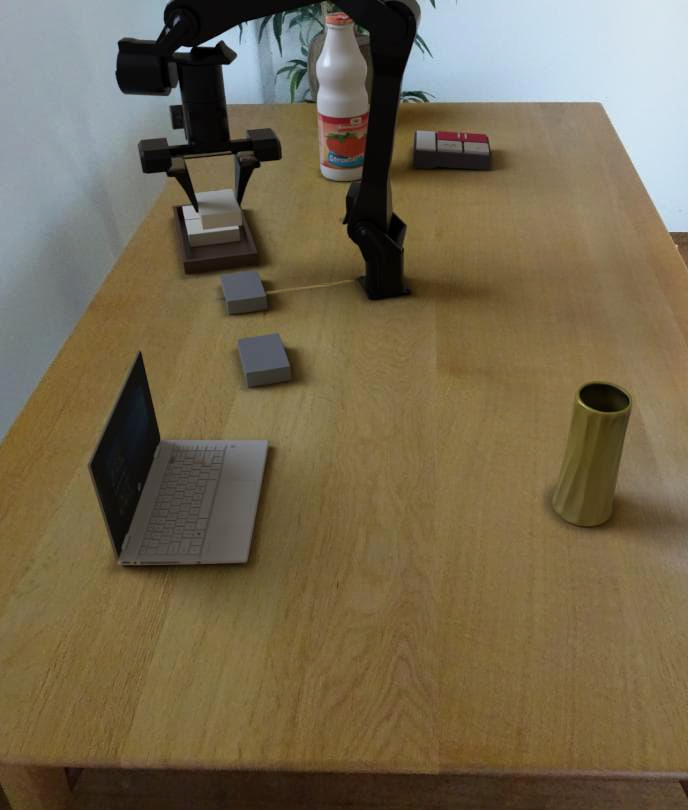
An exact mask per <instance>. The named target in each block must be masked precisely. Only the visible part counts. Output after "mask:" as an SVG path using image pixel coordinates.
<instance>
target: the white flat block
mask: <svg viewBox="0 0 688 810" xmlns="http://www.w3.org/2000/svg"><path fill="white" fill-rule="evenodd" d="M195 195H196V199H197V202H198V210H199V213H198V215H199V218H200V222H201V225H202V228H203V230H206V229H215V228H223V227H231V226H239V225H242V217H241V210H240V208H239V205H238V203H237V201H236V198H235V192H234V191H233V189H232V188H228V189H217V190H210V191H200V192H195Z"/></svg>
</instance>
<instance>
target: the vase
mask: <svg viewBox="0 0 688 810" xmlns="http://www.w3.org/2000/svg"><path fill="white" fill-rule="evenodd" d="M572 405H573V406H572V411H571V417H570V424H569V428H568V434H567V439H566V446H565V450H564V454H563V459H562V462H561V467H560V470H559V474H558V479H557V482H556V486H555V490H554V493H553V494H552V495H553V496H552V507H553V509H554V511H555V512H556V513H557V515H559V516H560V517H561V518H562V519H563V520H564V521H566V522H568V523H570V524H572V525H575V526H579V527H595V526H600V525H602V524H604V523H605V522H607V521H608V520H609V519H610V517H611V516H612V513H613V504H614V503H613V502H614V498H615V493H616V488H617V484H618V483H617V482H618V476H619V471H620V465H621V460H622V455H623V450H624V445H625V440H626V435H627V430H628V427H629V426H628V425H629V422H630V417H631V413H632V409H633V396H632V394H630V392H629V391H628V390H626V389H625V388H624V387H622V386H621V385H619V384H617V383H614V382H611V381H607V380H606V381H605V380H591V381H587V382H584V383H583V384H581V385H580V386H579V387H578V388H577V390H576V392H575V394H574V400H573V404H572Z"/></svg>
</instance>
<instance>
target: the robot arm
mask: <svg viewBox="0 0 688 810" xmlns="http://www.w3.org/2000/svg"><path fill="white" fill-rule="evenodd" d="M324 2H330V3H331V4H332V5H333V4H335V7H337V8H338V9H339V10H341V12H344V13H345V14H346V15H347V16H348V17H349V18H351V19H352V20H353V21H354V24H356V25H357V26H358V27H360V28H362V29H363V30H365V32H368V36H369V41H370V55H371V62H372V70H373V83H372V92H371V100H370V104H369V108H368V126H367V135H366V144H365V152H364V161H363V170H362V178H361V179H360V182H359V181H358V180H352V181H350V184H349V187H348V190H347V193H346V195H345V215H344V217H343V219H342V223H341V224H342V226H345V225H346V234H347V236H348V238H349V239H350V241H352V243H353V244H355V245H357V247H358V249H359V251H360V254H361V256H362V258H363V261H364V275H359V276H358V282H359V284H360V286H361V288H362V290H363V292H364V293H365V295H366V297H367V299H368V300H378V299H385V298H391V297H399V296H405V295H411V294H412V289H411V287H410V286H409V284H408V282H407V280H406V279H405V248H404V244H405V238H406V234H407V230H408V224H407V223H406V222H404V221H403V219H401V218H400V216H399V215H397V214H396V212H394V210H393V209H394V208H393V192H392V191H393V190H392V184H391V170H392V169H391V168H392V162H393V155H394V147H395V139H396V132H397V124H398V118H399V109H400V103H401V95H402V89H403V83H404V82H403V81H404V74H405V71H406V68H407V65H408V61H409V58H410V55H411V52H412V49H413V46H414V43H415V40H416V37H417V34H418V30H419V27H420V24H421V19H422V10H421V6H420V4H419V2H418V1H417V0H169V1H168V2H167V3H166V5H165V8H164V10H163V23H164V26H163V28H162V29H161V32H160V33H159V35H158V37H157V38H156V39H139V38H135V37H126V36H125V37H122V38H121V39H119V40H117V48H118V52H117V55H116V61H115V62H116V63H115V68H116V70H115V71H114V75H115V80H116V82H117V87H118V88H119V90H120V92H122V94H123V95H126V96H127V95H128V96H129V95H131V96H151V97H152V96H153V97H169V96H170V94H171V93H172V90H173V89H176V88H177V87H179V93H180V100H181V104H171V105H168V110H169V117H170V118H169V119H170V124H171V128H172V130H173V131H176V130H183V133H184V138H185V141H187V143H185V144H184V143H183V144H175V145H169V143H168V139H167V137H158V138H156V137H155V138H146V139H140V141H139V142H138V143H137V149H138V150H137V151H138V154H139V155H138V156H139V161H140V165H141V171H142V174H146V175H150V174H160V173H165V175H166V177H167V178H174V179H175V180H176V181H177V182H178V184H179V185H180V187H181V188H182V189H183V190H184V193H185V194H186V196H187V198H188V201H189V202H190V204H192V206H193V207H194V209H195V211H196V213H199V210H198V202H197V199H196V195H195V193H196V192H195V189H194V186H193V181H192V180H191V175H190V172H189V169H188V165H187V163H186V160H192V159H193V160H194V159H203V158H212V157H213V158H214V157H223V156H232V155H233V162H234V195H235V198H236V201H237V203H238V205H239V208H240V206H241V207H242V202H243V199H244V195H245V192H246V189H247V186H248V183H249V181H250V179H251V177H252V174H254V173H253V172H254V170H256V169H260V168H261V167H262V165H261V164H262V163H266V162H275V161H276V162H277V161H281V160H282V159H283V151H282V143H281V140H280V138H279V136H278V135H277V133H276V132H275V131H274V129H272V128H271V127H266V128H253V129H246V131H245V138H238V139H236V138H235V139H231V133H230V124H229V115H228V106H227V98H226V97H227V96H226V89H225V82H224V81H225V80H224V71H223V66H230V65H231V64H232V63H233V62H234V61H235V60H237V58H238V53H237V52H236V51H235V50H233V49H232V48H231V47H229V46H228V45H227V44H226V43H225V42H226V41H224V40H223V39H221V40H219V41H218V42H217V43H216V44H215V45H214V46H203V44H205V43H207V42H209V41H211V40H214V39H215V38H217V37H219V36H221V35H223V34H224V33H226V32H228V31H229V30H231V29H233V28H235V27H237V26H240V25H242V24H244V23H247V22H248V23H249V22H252V21H255V20H259V19H262V18H266V17H270V16H274V15H279V14H282V13H286V12H290V11H294V10H297V9H301V8H304V7H309V6H313V5H316V4H317V5H318V4H320V3H324ZM182 47H184V48H191V49H190V51H185V52H183V51H182V52H181V51H178V50H179V49H180V48H182Z"/></svg>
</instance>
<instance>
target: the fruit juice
mask: <svg viewBox="0 0 688 810" xmlns="http://www.w3.org/2000/svg"><path fill="white" fill-rule="evenodd" d="M325 25H326V27H327V32H326V33H327V35H326V39H325V43H324V47H323V50H322V53H321V55H320V57H319V58H318V60H317V64H316V74H317V78H318V81H319V91H318V94H317V103H316V112H317V130H318V133H317V134H318V150H319V168H320V172H321V175H322V177H324V178H326V179H328V180H330V181H331V180H332V181H336V182H352V180H354V181H358V180H361V178H362V170H363V161H364V152H365V144H366V135H367V126H368V118H369V104H368V95H367V92H366V89H365V80H366V76H367V65H366V61H365V59H364V57H363V56H362V54H361V52H360V50H359V47H358V44H357V41H356V38H355V35H354V32H353V26H354V25H355V22H354V21H353V20H352V19H351V18H349V17H348V16H347V15H346V14H345V13H344V12H343V11H340V12H339V11H338V12H337V11H336V12H333V13H331V12H330V13H327V14H326V15H325Z"/></svg>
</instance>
